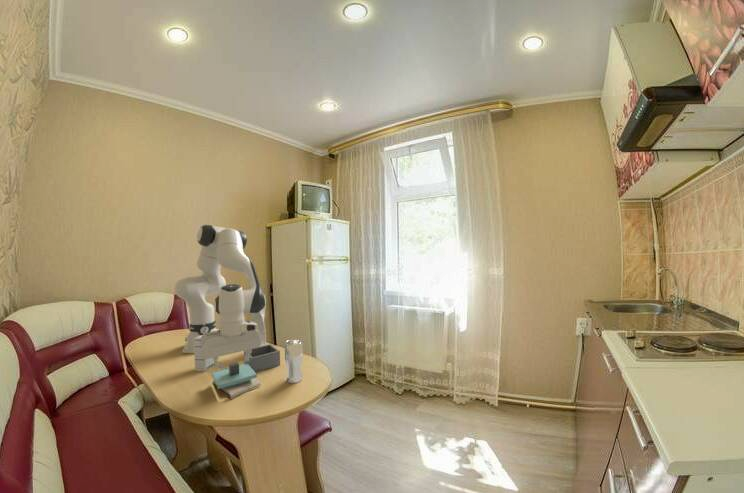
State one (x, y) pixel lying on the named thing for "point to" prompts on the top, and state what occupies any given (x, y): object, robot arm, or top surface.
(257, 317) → the skyscraper
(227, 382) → the lid
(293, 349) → the beer glass
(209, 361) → the syrup box
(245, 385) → the washcloth
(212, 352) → the robot arm
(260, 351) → the box
